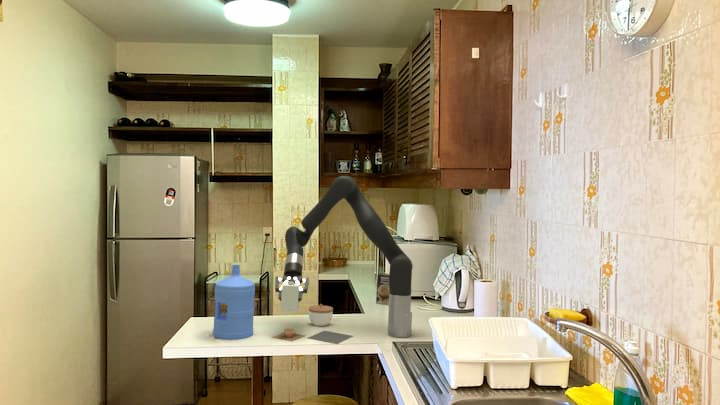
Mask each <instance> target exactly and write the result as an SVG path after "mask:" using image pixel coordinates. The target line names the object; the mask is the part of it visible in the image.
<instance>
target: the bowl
mask: <svg viewBox="0 0 720 405" xmlns="http://www.w3.org/2000/svg"><path fill="white" fill-rule="evenodd" d="M283 333H284V335H285V336H286V337H292V336H293V335H294V333H295V329H294V328H290V327H287V328H284V330H283Z"/></svg>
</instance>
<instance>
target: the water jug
mask: <svg viewBox="0 0 720 405" xmlns="http://www.w3.org/2000/svg"><path fill="white" fill-rule="evenodd" d="M231 267H232V268H231V275H229V276H228V277H225V278H223V279H221V280H219V281H217V282H216V283H215V286H214V301H215V308H214V310H215V311H214V312H215V314H214V317H213V329H212V335H213V337H215V338H217V339H219V340H220V339H221V340H242V339H246V338H249V337H251V336H252V335H253V334H254V314H255V293H256V286H255V285H256V284H255V282H254V281H252V280H250V279H248V278H246V277H244V276H242V275H241V274H240V272H241V269H240V267H241V265H240V264H232V265H231ZM221 304H226V305H227V306H226V307H227V308H226V312H225V313H221Z"/></svg>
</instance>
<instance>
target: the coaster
mask: <svg viewBox="0 0 720 405" xmlns="http://www.w3.org/2000/svg"><path fill="white" fill-rule="evenodd" d="M305 337H306V335H304V334H299V333H295V332H294V335H293V336H292V337H286V336H285V335H284V332H281V333H279V334H276V335H273V336H271V338H272V339H277V340H283V341H288V342H294V341H297V340H299V339H302V338H305Z"/></svg>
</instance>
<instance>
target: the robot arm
mask: <svg viewBox="0 0 720 405" xmlns="http://www.w3.org/2000/svg"><path fill="white" fill-rule="evenodd" d="M343 199H344V200H346V202H347V203H348V204H349V206H350V207H351V209H352V211H353V213H354V215H355V218H356V220H357V223H358V226H360V229H361V230H362V231H363V233H364V234H365V235H366V236H365V237H367V238H368V240H369V241H370V242H371V243H373V245H374V246H375V247H377V249H378V250H379V251H380V252H381V253H382V254H383V255H384V257H385V259H386V260H387V262H388V264H389V273H388V274H389V305H388V316H387V317H388V318H387V320H388V321H387V335H388V336H391V337H393V338H406V339H407V338H408V337H409V336H411V335H412V325H413V324H412V323H413V322H412V321H413V312H412V311H411V309H412V308H411V307H412V306H411V305H412V304H411V303H412V275H413V271H412V270H413V261H412V260H411V259H410V258H409V257H408V255H407V254H406V253H405V252H404V251H403V250H402V249H401V247H400V246H399V245H398V243H397V242H396V241H395V239H394V236H393V235H392V233H391V232H390V230H389V229H388V227H387V226H386V223H385V222H384V221H383V219H382V218H381V217H380V216H379V214H378V213H377V212H376V210H375V209H374V208H373V206H372V205H371V203H369V201H368V200H367V199H366V197H365V196H364V194H363V192H362V191H361V189H360V187H359V185H358V183H357V182H356V181H355V179H354V178H353V177H351V176H349V175H340V176H337V177H336V178H335V179H334V180H333V182H332V183H331V185H330V186H329V188H328V189H327V191H326V192H325V194H324V195H323V196H322V198H321V199H320V200H319V201H318V203H317V204H315V206H313V208H311V210H310V211H309V212H308V213H307V214H306V215H305V217H303V218H302V220H301V222H300V223H301V224H300V225H301V226H302V228H303V229H304V231H303V230H302V229H300V228H298V227H296V226H290V227H289V228H288V229H287V230H286V231H285V234H284V242H285V246H286V250H287V251H286V257H285V262H284V270H283V276H282V277H279V276H275V278H274V279H275V281H274V289H275V293H278V300H279V301H280V302H281V295H282V285H283V283H289V282H294V283H296V284H300V286H299V297H298V302H299V303H300V302H301V301H302V300H303V294H307V293H308V290H309V284H310V278H309V277H306V278H303V268H304V247H306V245H307V244H308V243H309V241H310V239H311V237H312V235H313V234H314V232H315V230H316V229H317V228H318V227H319V226H320V225H321V224H322V222H324V220H325V219H326V217H327V216H328V214H330V212H331V210H332V209H333V208H334V207H335V206H336V205H337V204H338V203H339V202H341V200H343ZM281 282H282V284H281ZM302 283H303V284H304V288H302V286H301V284H302ZM279 284H281V285H279ZM279 286H280V287H279Z"/></svg>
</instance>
